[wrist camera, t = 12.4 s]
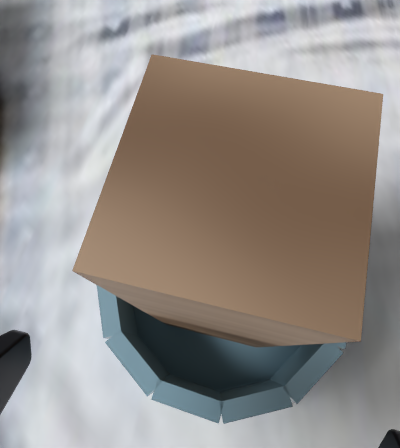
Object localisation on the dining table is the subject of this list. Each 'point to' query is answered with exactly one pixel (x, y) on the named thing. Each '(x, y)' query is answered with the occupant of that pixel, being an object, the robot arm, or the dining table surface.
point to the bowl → (210, 365)
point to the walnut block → (240, 205)
